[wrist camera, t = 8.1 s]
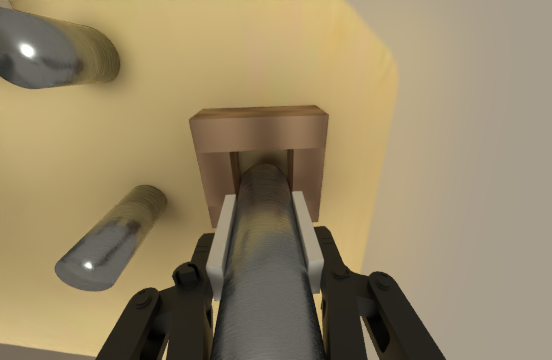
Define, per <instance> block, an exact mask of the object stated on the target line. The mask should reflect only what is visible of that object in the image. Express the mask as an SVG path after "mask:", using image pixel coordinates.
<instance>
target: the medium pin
mask: <svg viewBox="0 0 552 360" xmlns="http://www.w3.org/2000/svg"><path fill="white" fill-rule="evenodd" d="M166 205H167V200H166V197H165V196H164V194H163V193H162V192H161V191H160V190H158V189H157V188H155V187H152V186H148V185H141V186H137V187H135V188H134V189H133V190H132V191H131V192H130V193H129V194H128V195H126V196H125V197H124V198H123V199H122V200H121V201H120V202H119V203H118V204H117V205H116V206H115V207H114V208H113V209H112V210H111V211H110V212H109V213H108V214H107V215H106V216H105V217H104V218H103V219H102V220H101V221H100V222H98V223H97V224H96V225H95V226H94V227H93V228H92V229H91V230H90V231H89V232H88V233H87V234H86V235H85V236H84V237H83V238H82V239H81V240H80V241H79V242H78V243H77V244H76V245H75V246H74V247H73V248H72V249H70V250H69V251H68V252H67V253H66V254H65V255H64V256H63V257H62V258H61V259H60V260H59V261H58V262H57V263H56V265H55V272H56V274H57V276H58V277H59V278H60V279H61V280H62V281H63V282H65V283H66V284H68V285H70V286H72V287H74V288H77V289H80V290H85V291H103V290H106V289H109V288H110V287H112V286H113V285H114V283H115V282H116V280H117V279H118V277H119V276H120V274H121V273H122V271H123V270H124V268H125V267H126V265H127V264H128V262H129V261H130V259H131V258H132V256H133V255H134V254H135V252H136V251H137V249H138V248H139V246H140V245H141V243H142V242H143V240H144V239H145V237H146V236H147V234H148V233H149V231H150V230H151V228H152V227H153V225H154V224H155V222H156V221H157V219H158V218H159V216H160V215H161V213H162V212H163V210H164V209H165V207H166Z"/></svg>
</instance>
